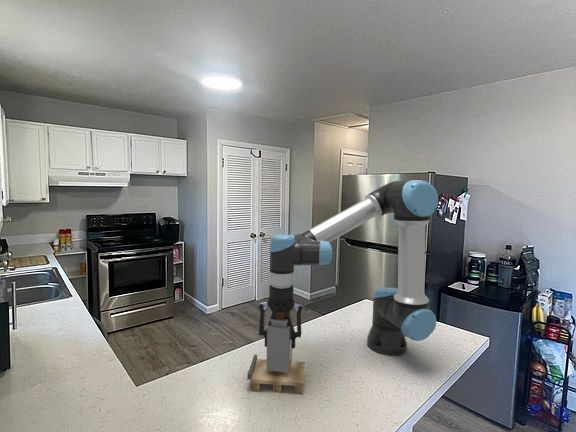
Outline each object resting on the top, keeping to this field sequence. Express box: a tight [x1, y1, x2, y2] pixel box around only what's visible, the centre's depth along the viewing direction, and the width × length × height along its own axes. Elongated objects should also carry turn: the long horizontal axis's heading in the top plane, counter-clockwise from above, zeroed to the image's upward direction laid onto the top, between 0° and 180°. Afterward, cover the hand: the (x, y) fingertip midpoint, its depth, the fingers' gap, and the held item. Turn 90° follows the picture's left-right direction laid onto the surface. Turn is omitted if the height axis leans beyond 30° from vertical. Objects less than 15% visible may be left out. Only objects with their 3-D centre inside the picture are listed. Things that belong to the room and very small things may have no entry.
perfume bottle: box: [266, 311, 294, 373], centre depth 101 cm, size 7×7×18 cm
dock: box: [247, 354, 306, 395], centre depth 102 cm, size 17×12×5 cm
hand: (279, 356), depth 101 cm, fingers closed on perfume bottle, 6 cm apart
